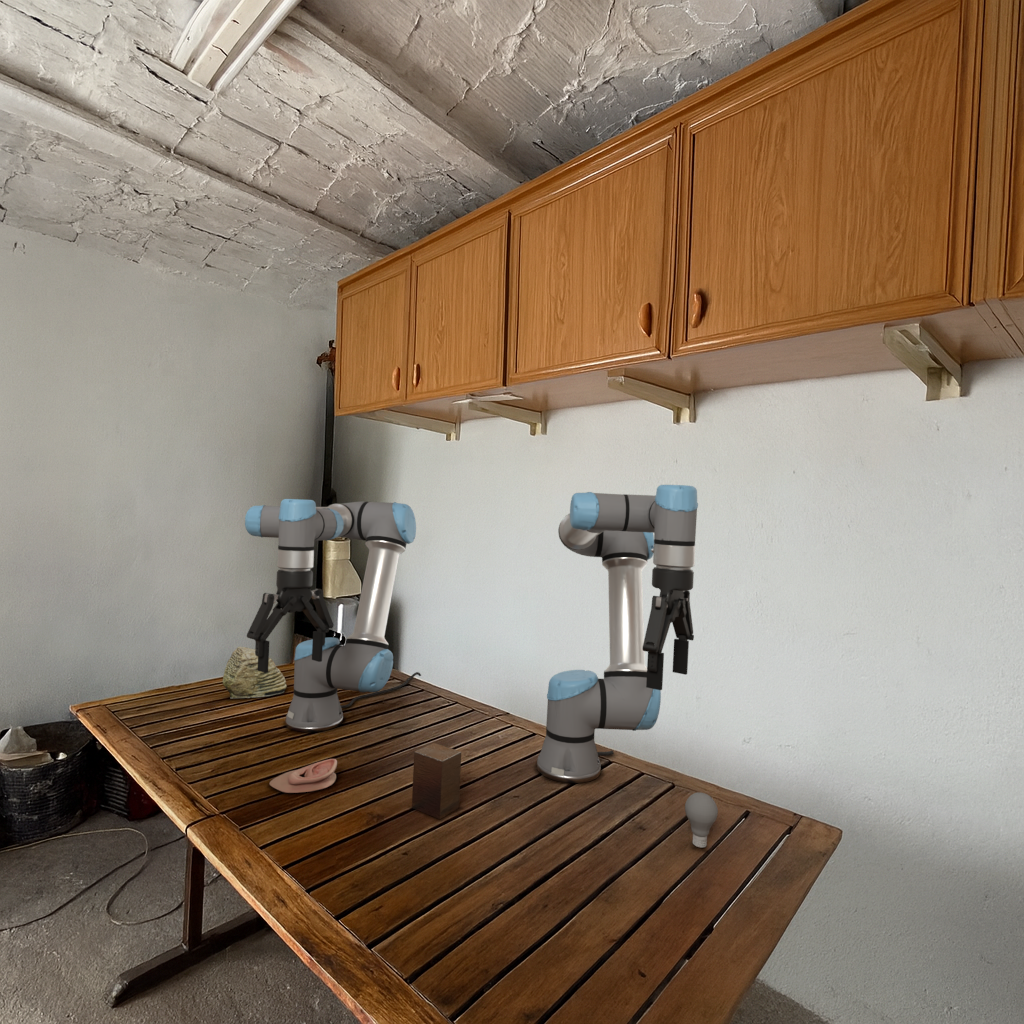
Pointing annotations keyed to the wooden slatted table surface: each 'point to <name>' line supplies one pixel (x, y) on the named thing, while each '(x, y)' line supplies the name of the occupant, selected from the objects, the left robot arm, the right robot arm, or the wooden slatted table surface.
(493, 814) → the wooden slatted table surface
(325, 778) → the anatomical model
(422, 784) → the block
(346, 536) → the left robot arm
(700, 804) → the light bulb
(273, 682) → the fossil
